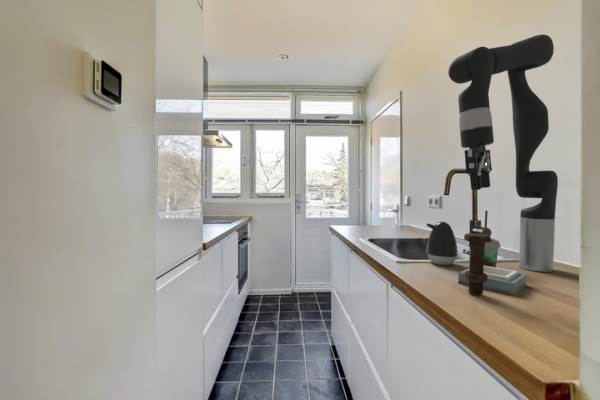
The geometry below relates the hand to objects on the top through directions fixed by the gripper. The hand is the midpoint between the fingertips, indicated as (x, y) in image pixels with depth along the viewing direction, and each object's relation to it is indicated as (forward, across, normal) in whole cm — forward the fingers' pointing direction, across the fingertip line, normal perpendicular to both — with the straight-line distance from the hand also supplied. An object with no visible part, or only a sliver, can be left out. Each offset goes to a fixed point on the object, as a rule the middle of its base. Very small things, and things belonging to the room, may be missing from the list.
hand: (481, 188), depth 81 cm
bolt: (+26, +9, -1) cm, 28 cm away
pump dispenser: (+27, -19, -20) cm, 38 cm away
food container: (+28, -22, -6) cm, 36 cm away
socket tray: (+27, -4, 0) cm, 27 cm away
